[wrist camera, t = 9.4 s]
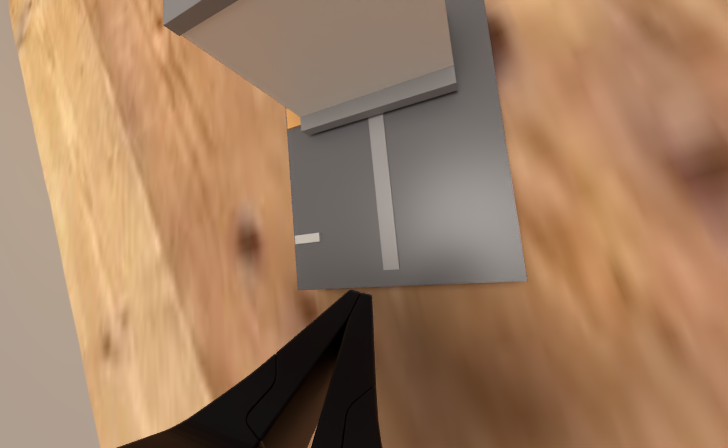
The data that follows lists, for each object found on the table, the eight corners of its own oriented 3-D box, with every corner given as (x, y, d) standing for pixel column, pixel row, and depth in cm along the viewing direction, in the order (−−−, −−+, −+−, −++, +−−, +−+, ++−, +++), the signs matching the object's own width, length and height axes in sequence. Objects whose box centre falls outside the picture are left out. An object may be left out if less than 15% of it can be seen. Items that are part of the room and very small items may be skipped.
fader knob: (458, 89, 15) (429, -112, 6) (307, 135, 19) (163, 47, 10) (446, 8, 16) (406, -279, 7) (302, 69, 19) (161, -67, 11)
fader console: (519, 274, 16) (527, 281, 13) (320, 283, 22) (296, 290, 19) (480, 17, 18) (480, -27, 15) (305, 85, 23) (280, 62, 20)
